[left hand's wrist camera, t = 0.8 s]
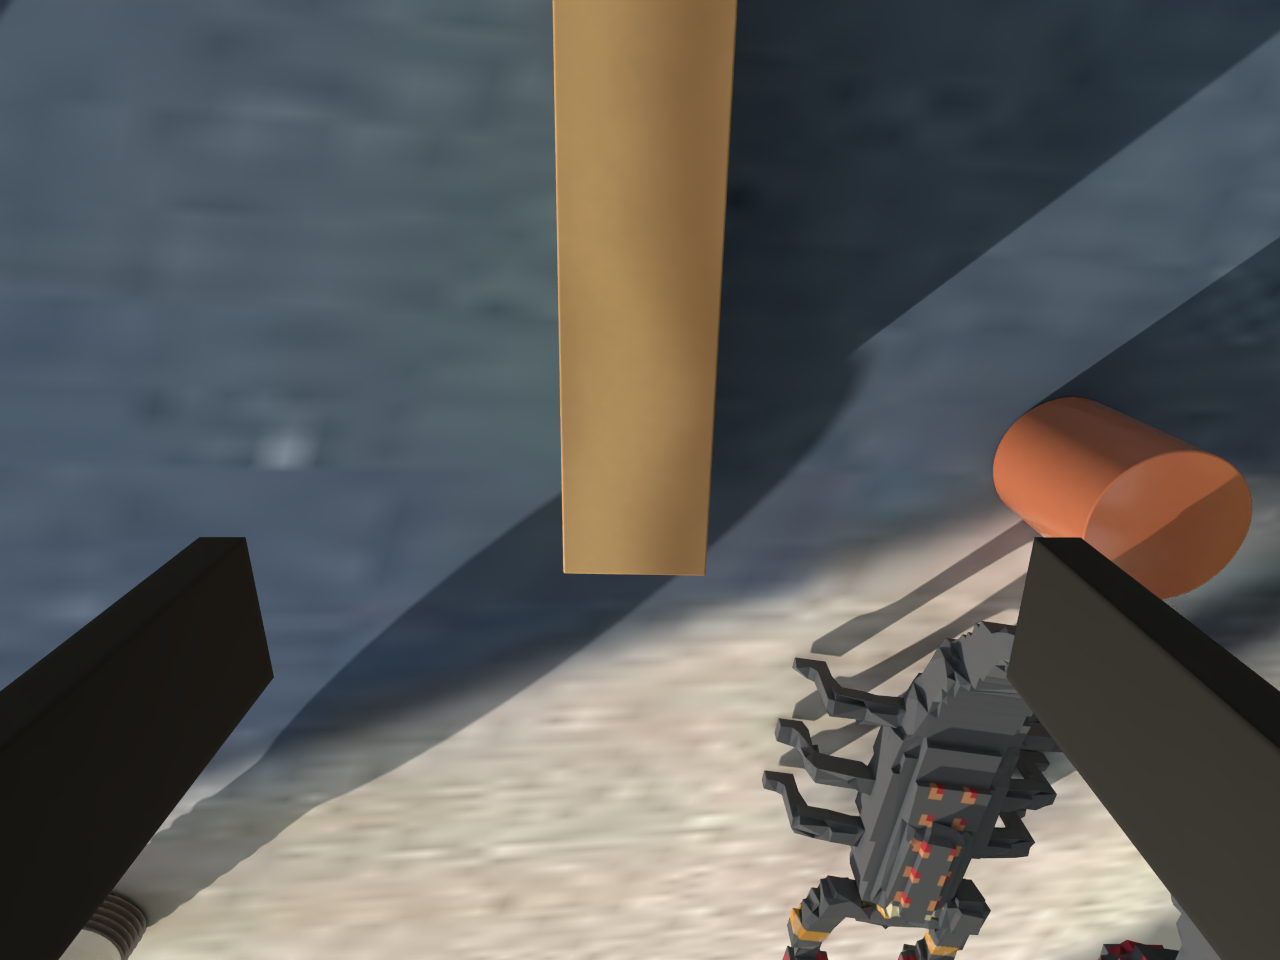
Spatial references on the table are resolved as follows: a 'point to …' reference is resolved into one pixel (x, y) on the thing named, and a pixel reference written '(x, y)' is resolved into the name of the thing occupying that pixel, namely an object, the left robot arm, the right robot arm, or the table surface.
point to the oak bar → (640, 274)
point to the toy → (930, 802)
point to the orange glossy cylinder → (1124, 492)
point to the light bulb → (108, 932)
